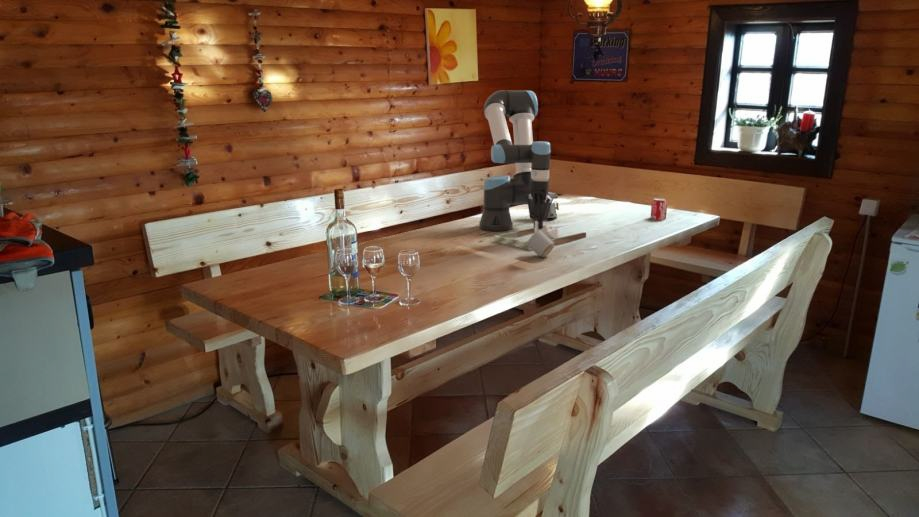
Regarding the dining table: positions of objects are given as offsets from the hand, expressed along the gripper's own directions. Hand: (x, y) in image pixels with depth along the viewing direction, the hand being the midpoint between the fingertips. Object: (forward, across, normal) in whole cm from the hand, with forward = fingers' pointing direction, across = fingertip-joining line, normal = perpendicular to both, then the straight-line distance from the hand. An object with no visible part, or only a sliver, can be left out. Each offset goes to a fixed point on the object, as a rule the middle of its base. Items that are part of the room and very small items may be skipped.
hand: (537, 236), depth 281 cm
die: (+2, +2, +4) cm, 5 cm away
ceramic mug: (+2, +19, -19) cm, 27 cm away
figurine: (+2, -24, +33) cm, 41 cm away
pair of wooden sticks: (+2, 0, +4) cm, 4 cm away
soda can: (+2, +14, +71) cm, 72 cm away
